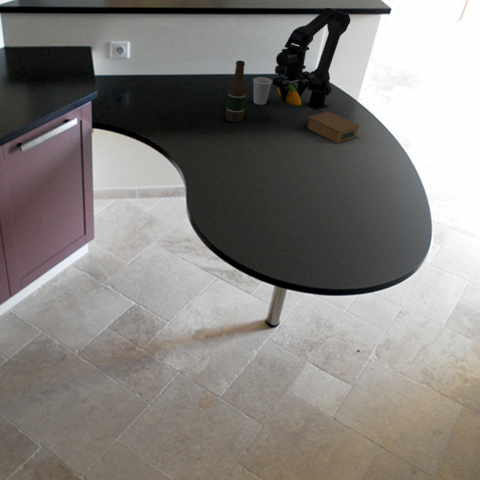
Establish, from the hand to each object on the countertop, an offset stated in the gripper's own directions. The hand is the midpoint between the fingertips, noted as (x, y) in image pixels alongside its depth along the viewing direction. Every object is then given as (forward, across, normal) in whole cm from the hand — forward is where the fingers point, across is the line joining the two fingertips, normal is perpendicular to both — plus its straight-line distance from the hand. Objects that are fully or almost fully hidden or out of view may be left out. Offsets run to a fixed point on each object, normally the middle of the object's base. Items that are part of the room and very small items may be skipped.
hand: (290, 99), depth 246 cm
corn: (+2, 0, 0) cm, 2 cm away
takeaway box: (+7, -4, +21) cm, 23 cm away
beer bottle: (+8, +22, -9) cm, 25 cm away
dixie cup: (+8, 0, -18) cm, 20 cm away
